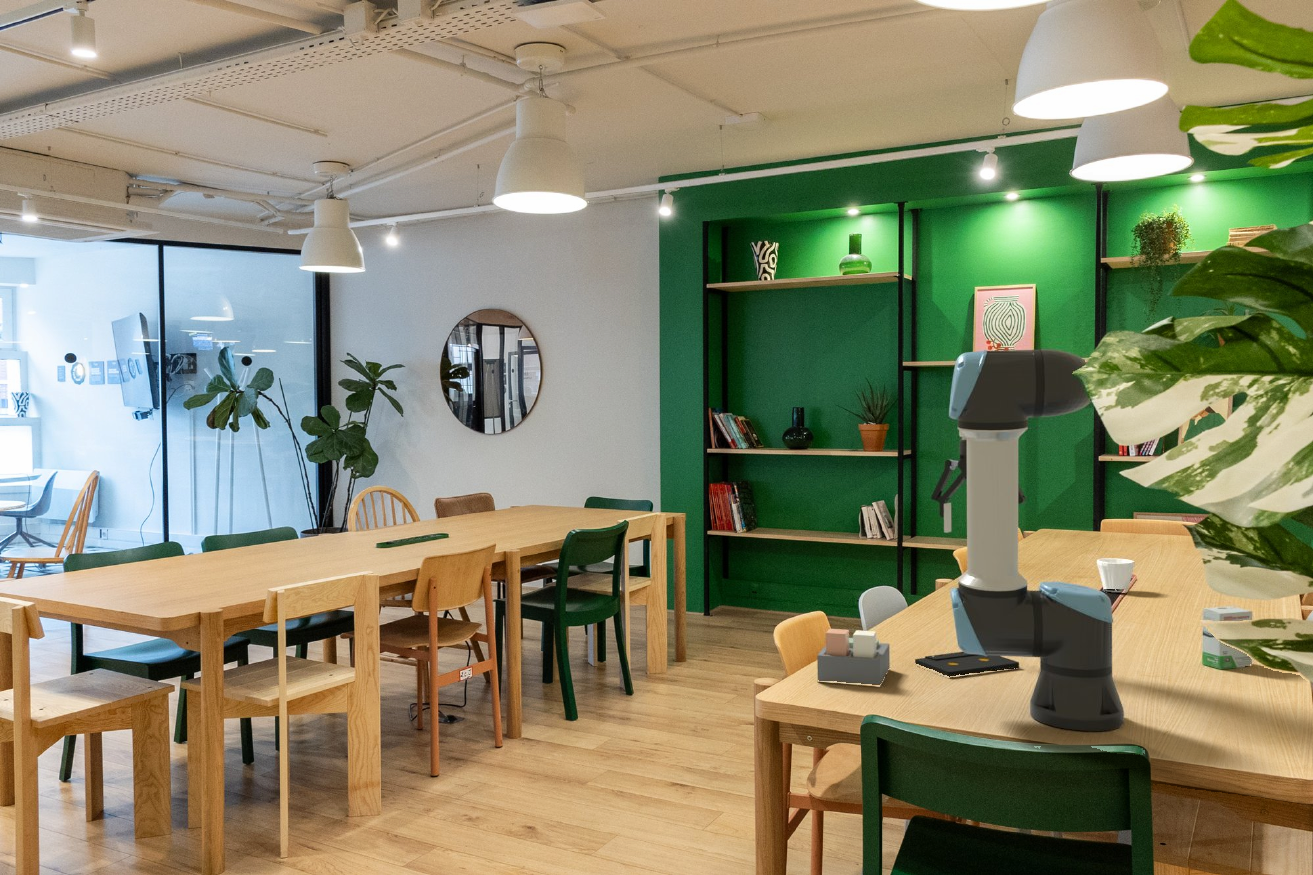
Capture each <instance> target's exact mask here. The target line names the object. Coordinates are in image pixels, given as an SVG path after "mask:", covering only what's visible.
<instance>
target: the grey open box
mask: <svg viewBox="0 0 1313 875" xmlns="http://www.w3.org/2000/svg"><path fill="white" fill-rule="evenodd" d="M876 652H877V657H876V658H866V657H853V637H849V655H848V656H838V655H826V645H825V646H824V647H823V648H822V649H821V650H820V651H819V653H818V654H817V661H816V662H817V664H816V665H817V666H816V667H817V668H816V669H817V681H818V680H819V681H837V682H846V683H861V684H872V685H880V684H881V683H882V681H883V679H884V677H885V675H886V673H887V671H888V669H889V668H891V667H890V664H891V663H890V661H891V660H890V656H891V655H890V643H885V642H884V643H883V642H880V640H879V639H876ZM883 682H884V681H883ZM882 684H883V683H882Z"/></svg>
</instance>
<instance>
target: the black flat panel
mask: <svg viewBox="0 0 1313 875" xmlns="http://www.w3.org/2000/svg"><path fill="white" fill-rule="evenodd" d="M915 663H916V664H919V665H921V666H924V667H926V668H929V669H933V670H935V671H937V672H939V673H942V674H943V675H947V676H949V677H950V676H956V675H959V674H960V675H965V674H969V673H980V672H984V671H997V670H1004V669H1014V668H1015V670H1017V669H1016V668H1019V669H1020V662H1019V661H1016V660H1014V659H1010V658H1008V657H1006V656H991V655H987V656H984V655H977V654H968V653H965V652H963V651H957V652H951V653H940V654H934V655H925V656H924V657H921V658H920V657H919V658H915V659H914V664H915Z"/></svg>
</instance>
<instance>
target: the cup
mask: <svg viewBox="0 0 1313 875" xmlns="http://www.w3.org/2000/svg"><path fill="white" fill-rule="evenodd" d="M1096 565H1097V568H1098V572H1099V576H1100V580H1101V584H1102V588H1103V590H1104V589H1115V590H1116V589H1124V590H1126V593H1125V594H1127V593H1128V591H1129V588H1130V584H1131V579H1132V575H1133V572H1134V568H1135V561H1134V560H1131V559H1127V558H1126V559H1125V558H1114V557H1113V558H1109V557H1106V558H1098V559H1097V560H1096Z"/></svg>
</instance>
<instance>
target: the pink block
mask: <svg viewBox="0 0 1313 875" xmlns="http://www.w3.org/2000/svg"><path fill="white" fill-rule="evenodd" d="M849 638H850V629H843V628H841V629H840V628H829V629H828V630H826V632H825V646H826V655H838V656H848V655H849Z"/></svg>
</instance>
